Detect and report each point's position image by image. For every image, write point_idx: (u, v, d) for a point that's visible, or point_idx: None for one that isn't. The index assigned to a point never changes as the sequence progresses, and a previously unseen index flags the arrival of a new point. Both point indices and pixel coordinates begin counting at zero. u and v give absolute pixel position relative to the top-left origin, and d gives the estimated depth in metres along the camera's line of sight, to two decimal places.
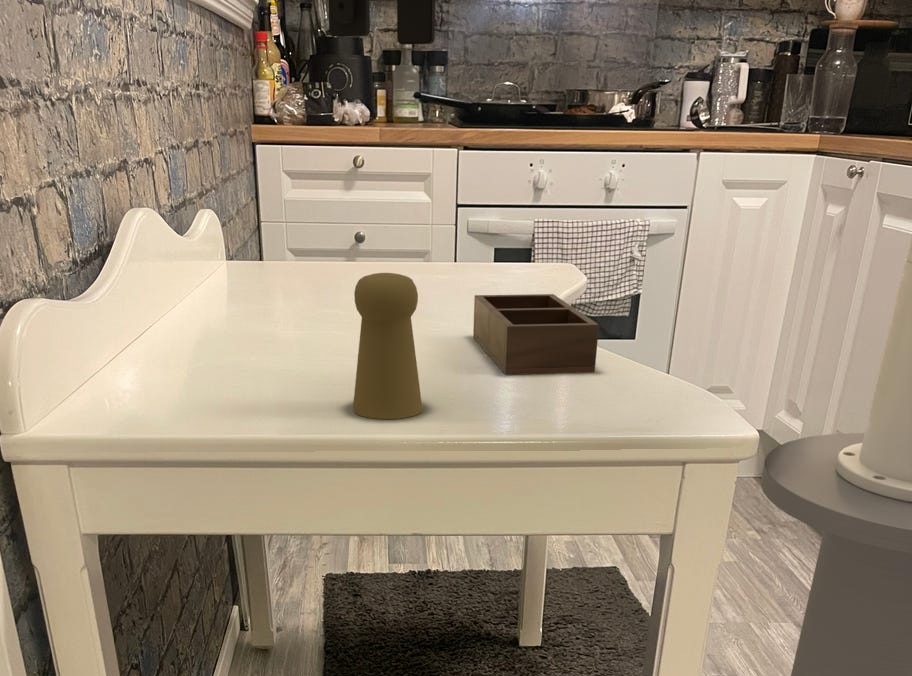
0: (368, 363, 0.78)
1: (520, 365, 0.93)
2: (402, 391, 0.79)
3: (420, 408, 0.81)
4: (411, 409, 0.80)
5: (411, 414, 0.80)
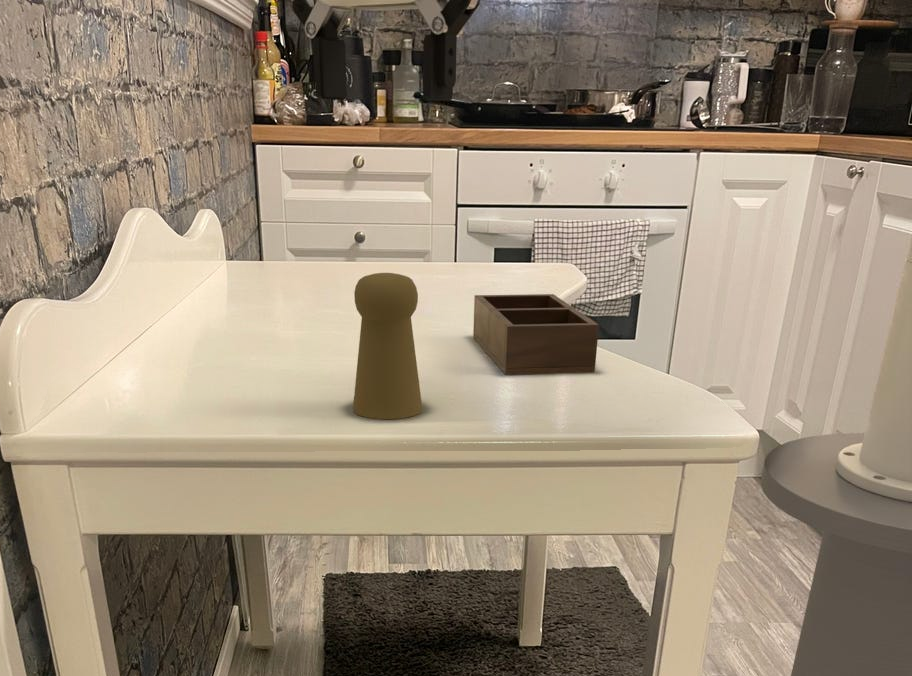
0: (368, 363, 0.78)
1: (520, 365, 0.93)
2: (402, 391, 0.79)
3: (420, 408, 0.81)
4: (411, 409, 0.80)
5: (411, 414, 0.80)
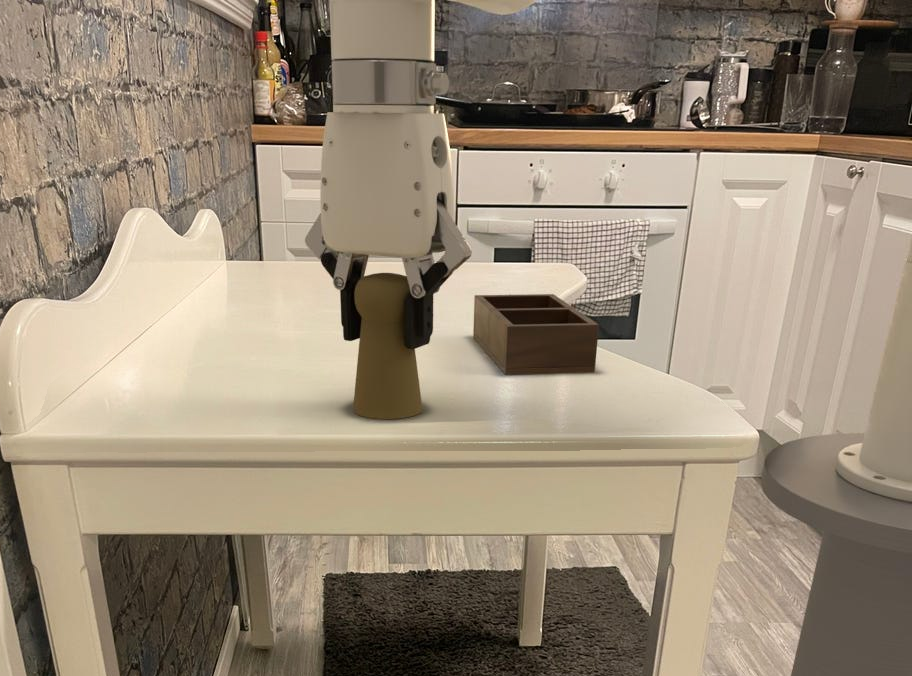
0: (368, 362, 0.78)
1: (520, 365, 0.93)
2: (402, 391, 0.79)
3: (420, 408, 0.81)
4: (411, 409, 0.80)
5: (411, 414, 0.80)
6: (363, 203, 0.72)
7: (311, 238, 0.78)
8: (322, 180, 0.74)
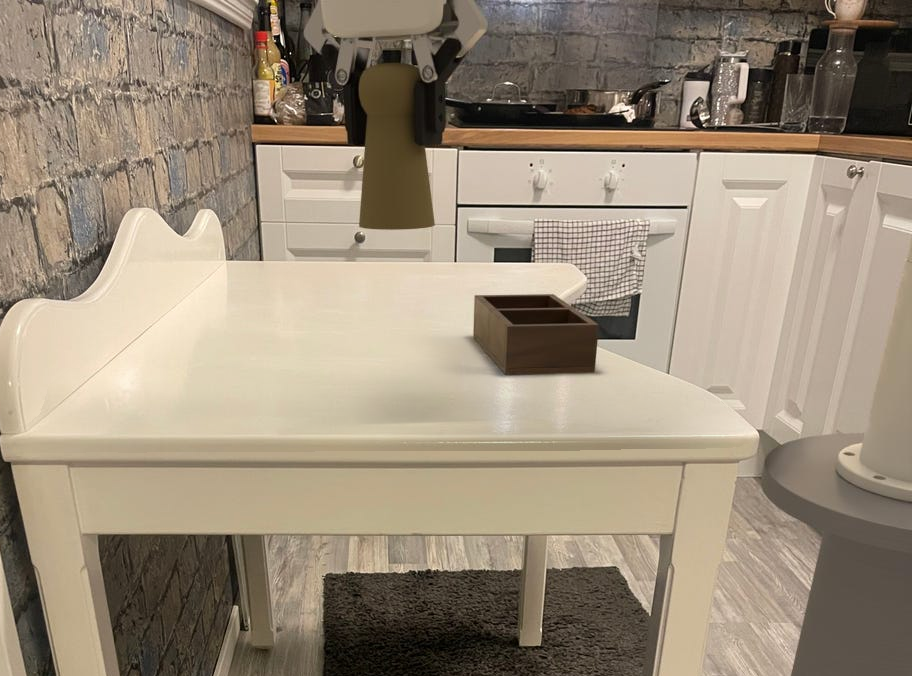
0: (375, 165, 0.71)
1: (520, 365, 0.93)
2: (412, 197, 0.72)
3: (432, 222, 0.74)
4: (423, 220, 0.73)
5: (423, 225, 0.73)
6: None
7: (310, 29, 0.71)
8: None
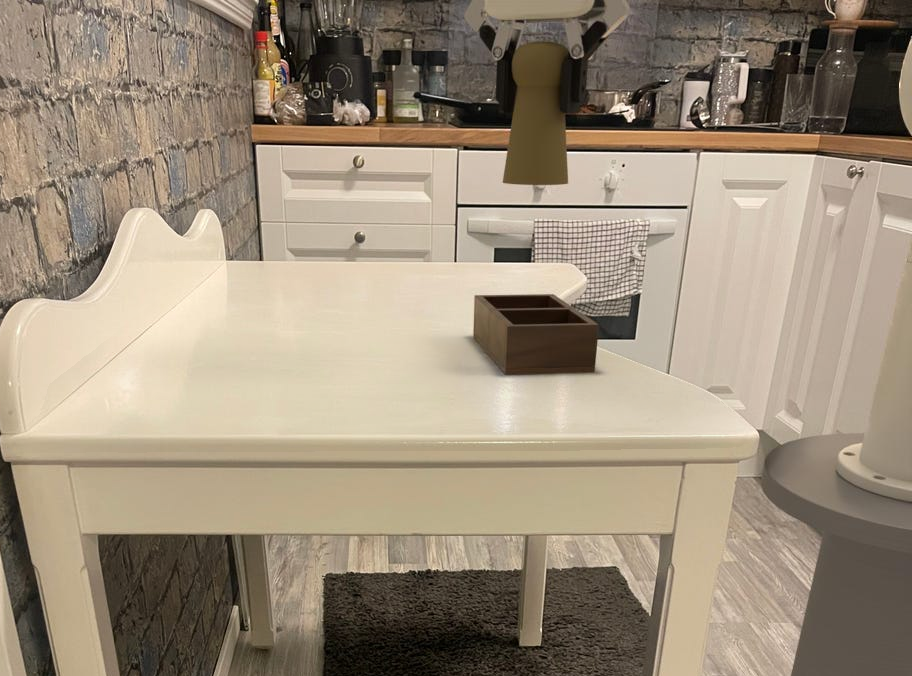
0: (523, 129, 0.84)
1: (520, 365, 0.93)
2: (554, 157, 0.84)
3: (567, 179, 0.87)
4: (561, 178, 0.86)
5: (561, 182, 0.86)
6: None
7: (470, 12, 0.83)
8: None
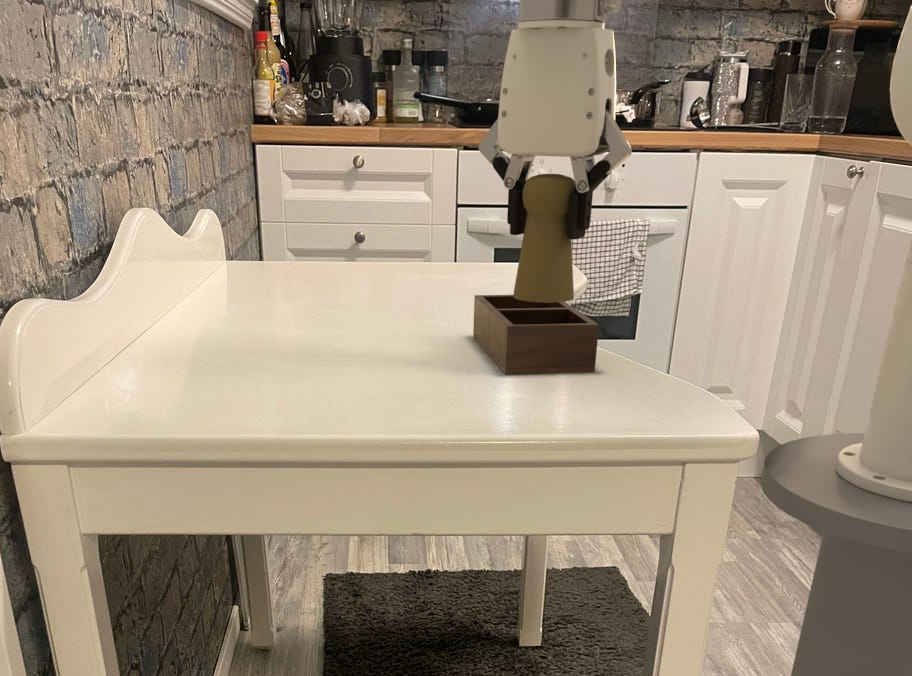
0: (533, 252, 0.91)
1: (520, 365, 0.93)
2: (561, 278, 0.91)
3: (573, 295, 0.94)
4: (567, 295, 0.93)
5: (567, 299, 0.93)
6: (540, 108, 0.85)
7: (484, 144, 0.90)
8: (502, 90, 0.86)
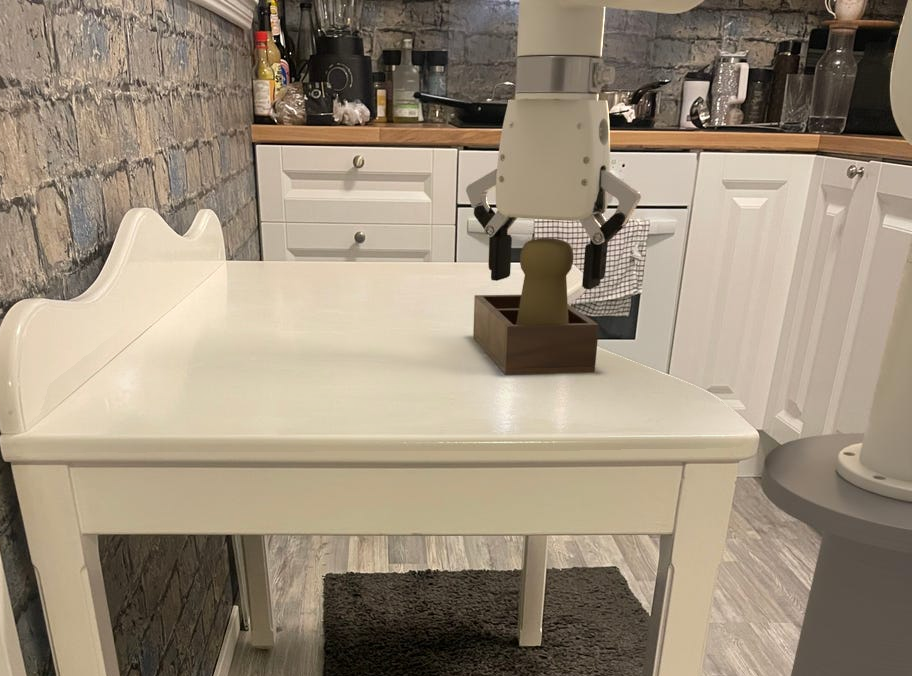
0: (530, 314, 0.93)
1: (520, 365, 0.93)
2: None
3: None
4: None
5: None
6: (537, 175, 0.87)
7: (472, 188, 0.93)
8: (500, 156, 0.89)
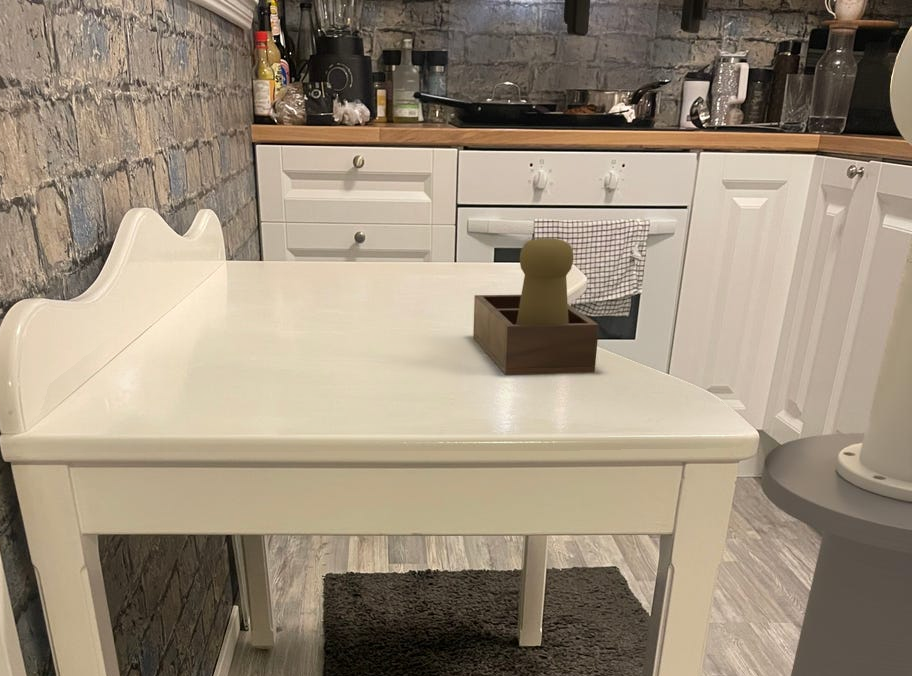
0: (530, 314, 0.93)
1: (520, 365, 0.93)
2: None
3: None
4: None
5: None
6: None
7: None
8: None
